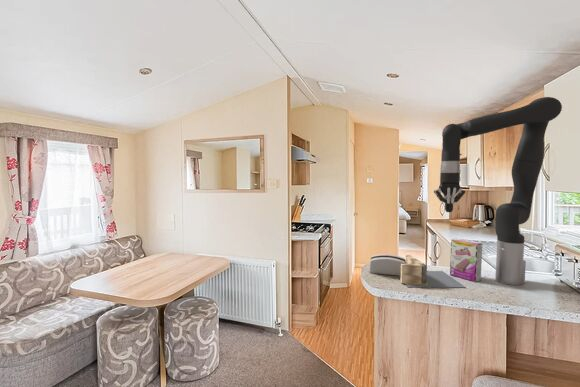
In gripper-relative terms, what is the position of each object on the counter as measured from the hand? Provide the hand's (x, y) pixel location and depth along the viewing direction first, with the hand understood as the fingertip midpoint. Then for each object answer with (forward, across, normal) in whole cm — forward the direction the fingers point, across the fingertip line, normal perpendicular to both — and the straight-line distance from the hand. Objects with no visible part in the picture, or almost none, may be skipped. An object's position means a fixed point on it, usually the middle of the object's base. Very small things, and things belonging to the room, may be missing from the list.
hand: (448, 211), depth 132 cm
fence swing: (+29, +14, 0) cm, 32 cm away
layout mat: (+29, +10, +2) cm, 31 cm away
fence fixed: (+29, +17, +8) cm, 35 cm away
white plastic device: (+29, +24, -4) cm, 38 cm away
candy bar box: (+29, -8, 0) cm, 30 cm away
